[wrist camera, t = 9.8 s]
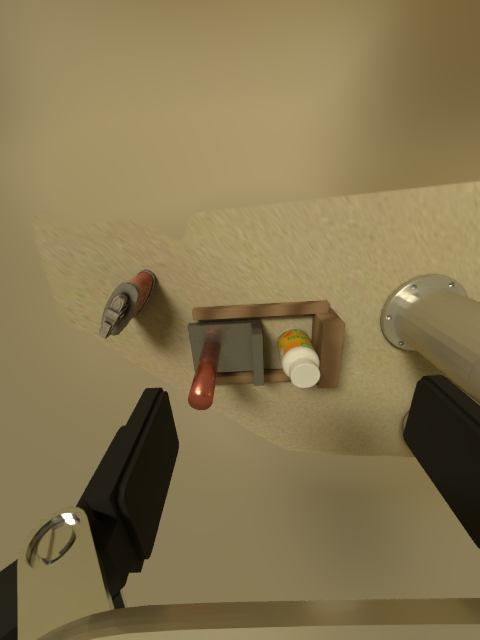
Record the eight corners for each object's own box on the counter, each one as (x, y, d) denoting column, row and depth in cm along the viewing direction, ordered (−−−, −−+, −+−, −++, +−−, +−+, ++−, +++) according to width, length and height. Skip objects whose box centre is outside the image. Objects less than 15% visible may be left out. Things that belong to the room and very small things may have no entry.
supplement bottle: (310, 327, 42) (329, 360, 33) (306, 355, 44) (322, 393, 35) (278, 326, 42) (287, 358, 33) (274, 354, 44) (283, 391, 35)
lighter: (140, 264, 38) (107, 283, 29) (161, 276, 39) (135, 298, 29) (120, 307, 41) (84, 336, 32) (139, 317, 41) (110, 349, 32)
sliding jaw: (260, 319, 41) (267, 366, 29) (261, 366, 45) (268, 425, 33) (189, 323, 41) (167, 371, 29) (196, 369, 45) (179, 428, 33)
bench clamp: (333, 300, 40) (346, 313, 35) (326, 373, 46) (336, 394, 40) (193, 307, 41) (186, 322, 36) (204, 379, 46) (199, 400, 41)
